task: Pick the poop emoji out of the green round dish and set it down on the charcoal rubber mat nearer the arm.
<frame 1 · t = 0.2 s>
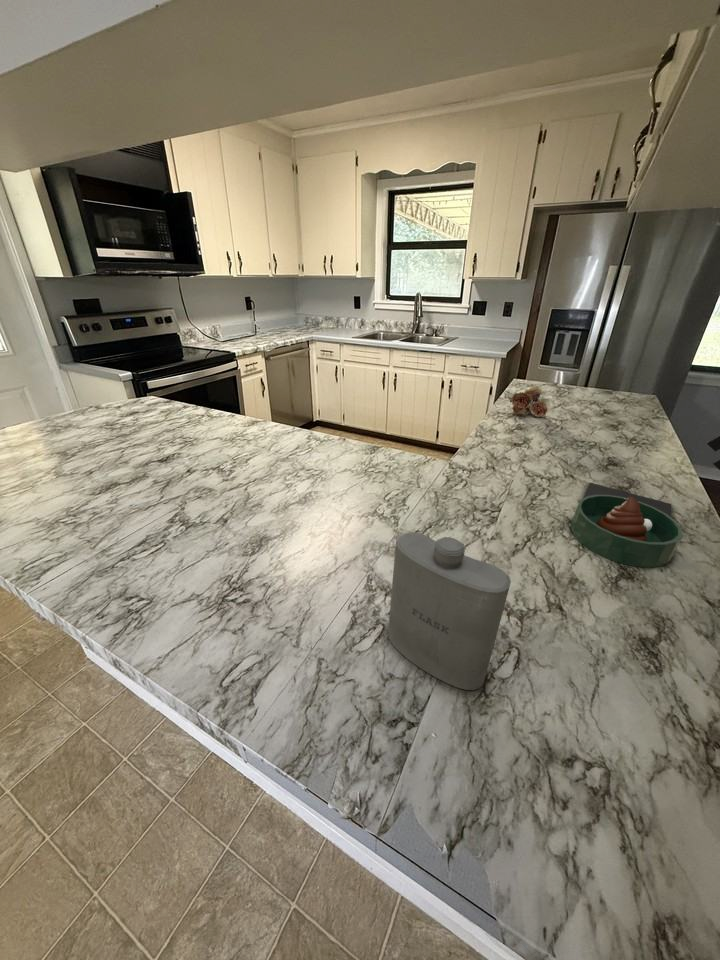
hand: (713, 456, 91), 13 cm above the counter, tool tilted 35°, fingers open, 13 cm apart
mat: (625, 503, 97), on the counter
green round dish: (618, 538, 84), on the counter
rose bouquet: (526, 415, 157), on the counter
flask: (432, 657, 57), on the counter
poop emoji: (619, 538, 83), resting in green round dish
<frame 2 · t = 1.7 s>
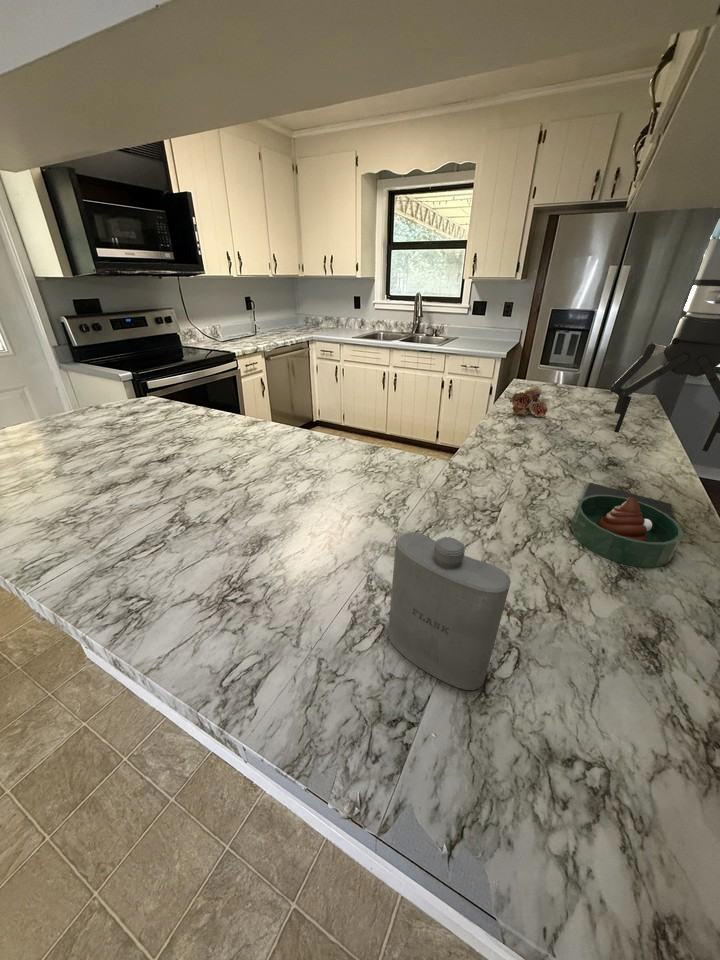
hand: (658, 439, 73), 22 cm above the counter, tool pointing down, fingers open, 13 cm apart
nothing on the counter moved.
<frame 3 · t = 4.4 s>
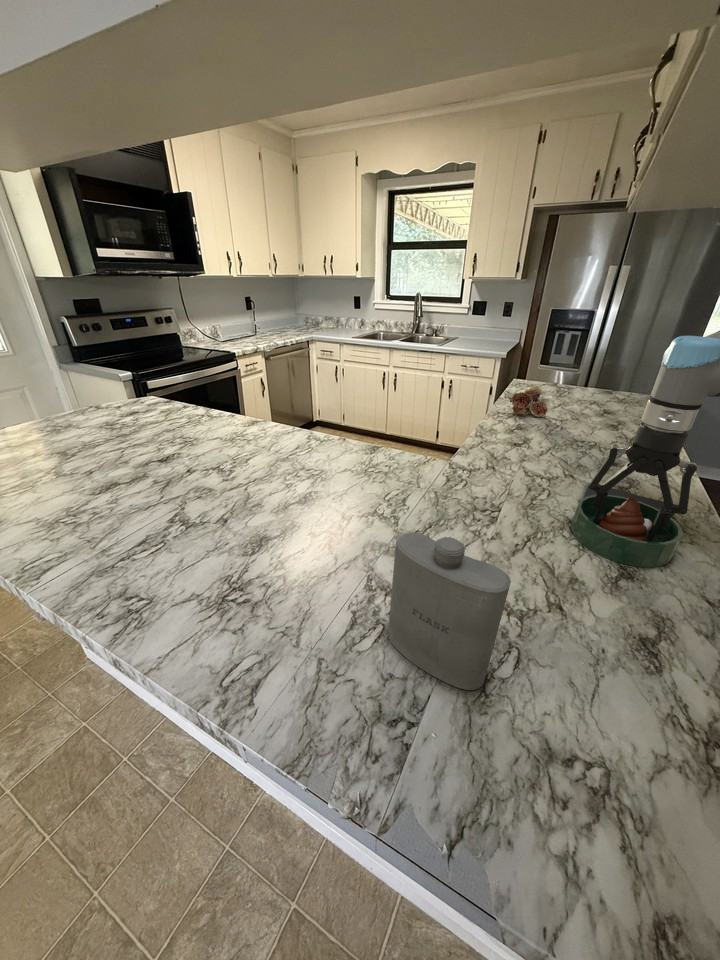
hand: (622, 528, 82), 3 cm above the counter, tool pointing down, fingers closed on poop emoji, 9 cm apart
poop emoji: (619, 538, 83), resting in green round dish, touching gripper
everything else where it was.
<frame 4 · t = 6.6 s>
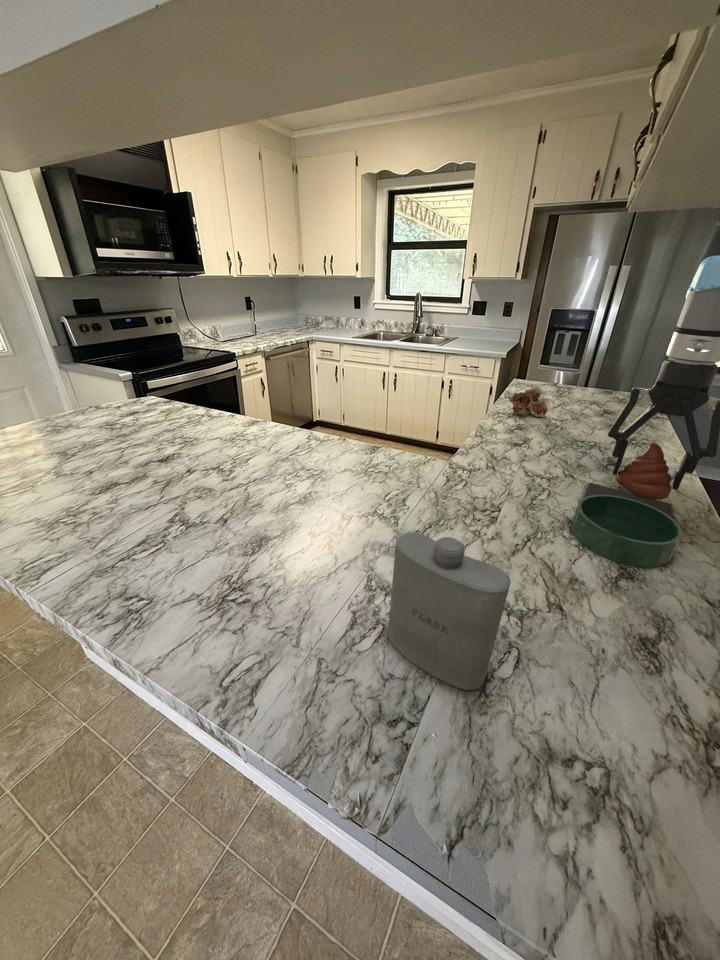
hand: (644, 479, 77), 14 cm above the counter, tool pointing down, fingers closed on poop emoji, 9 cm apart
poop emoji: (640, 489, 78), point 12 cm above the counter, touching gripper
everything else where it was.
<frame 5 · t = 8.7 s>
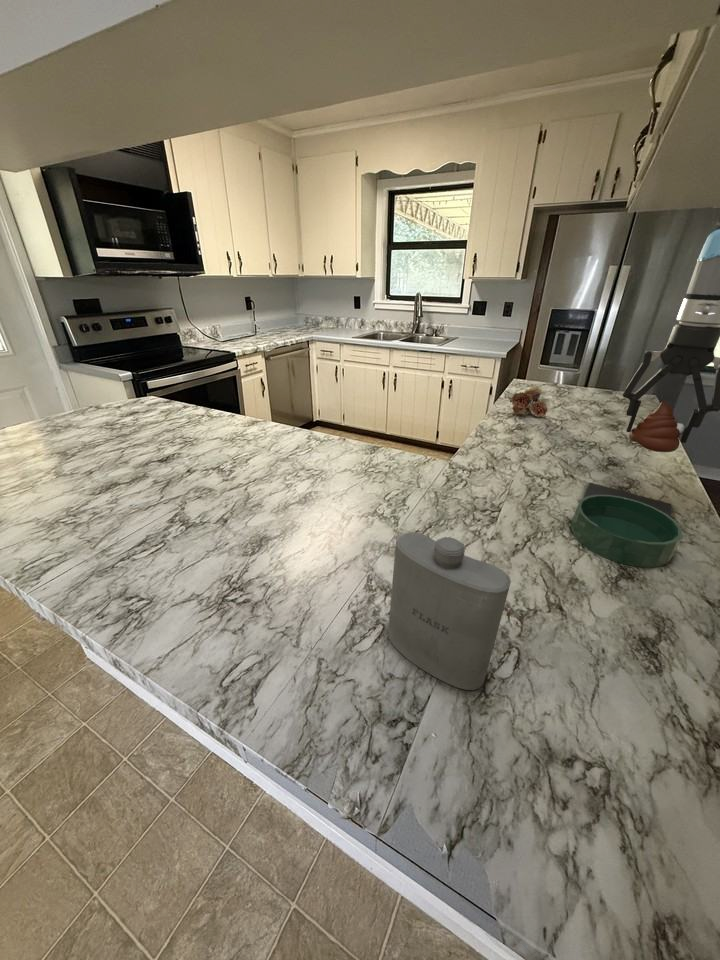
hand: (655, 435, 85), 19 cm above the counter, tool pointing down, fingers closed on poop emoji, 9 cm apart
poop emoji: (651, 445, 86), point 17 cm above the counter, touching gripper
everything else where it was.
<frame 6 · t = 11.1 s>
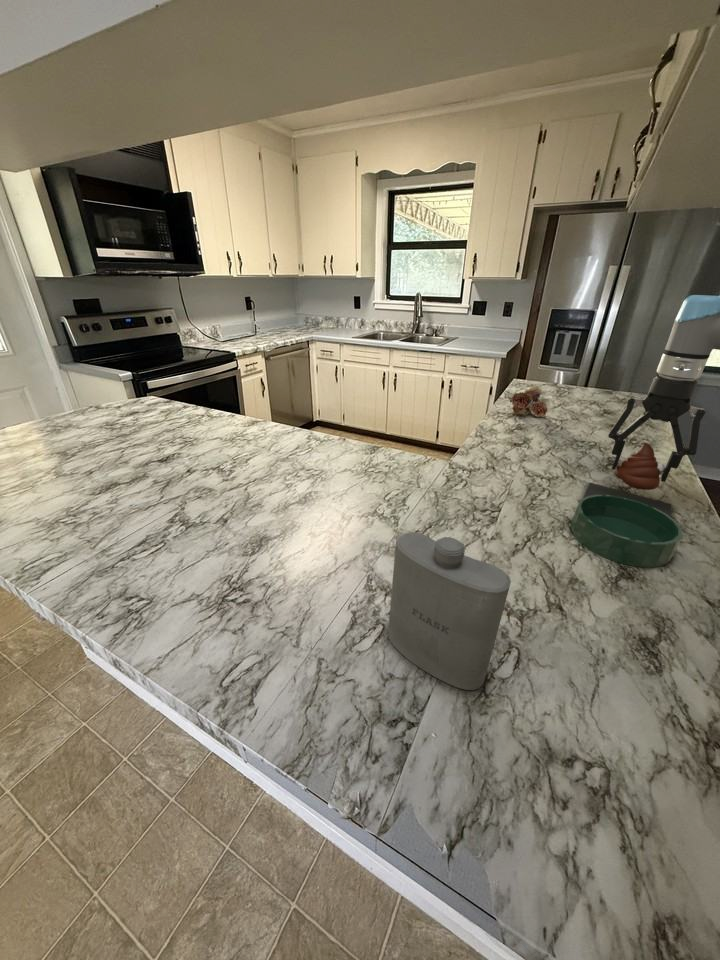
hand: (637, 473, 93), 8 cm above the counter, tool pointing down, fingers closed on poop emoji, 9 cm apart
poop emoji: (634, 482, 94), point 6 cm above the counter, touching gripper
everything else where it was.
when the fingers open (3 cm above the counter, at t = 13.0 s): poop emoji stays where it is, resting on mat.
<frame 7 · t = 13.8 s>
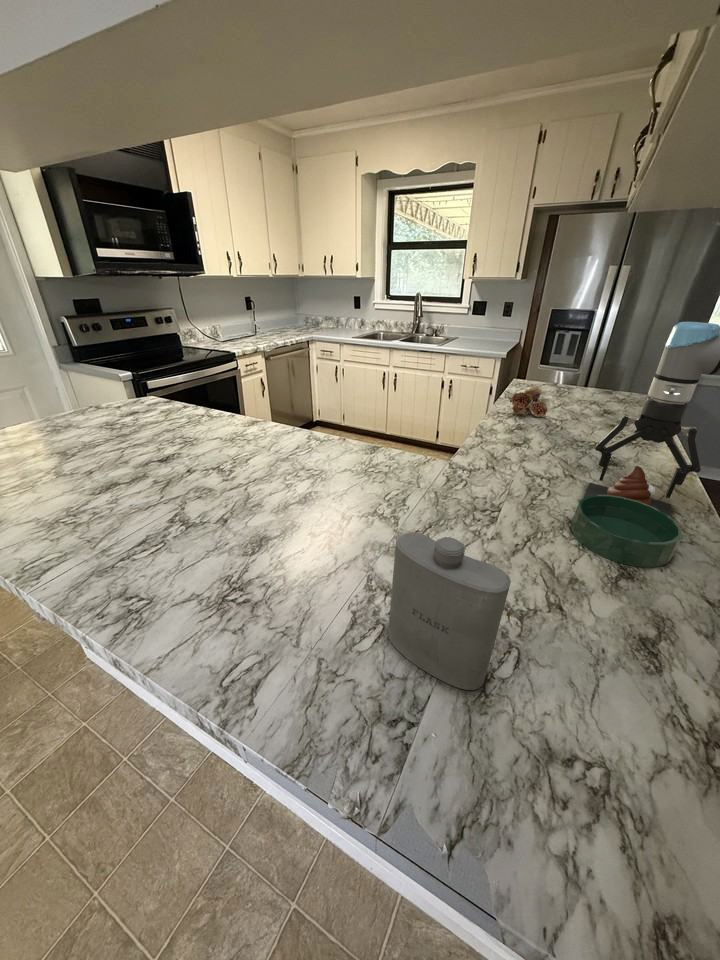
hand: (633, 487, 94), 5 cm above the counter, tool pointing down, fingers open, 13 cm apart
poop emoji: (626, 502, 96), resting on mat
everything else where it was.
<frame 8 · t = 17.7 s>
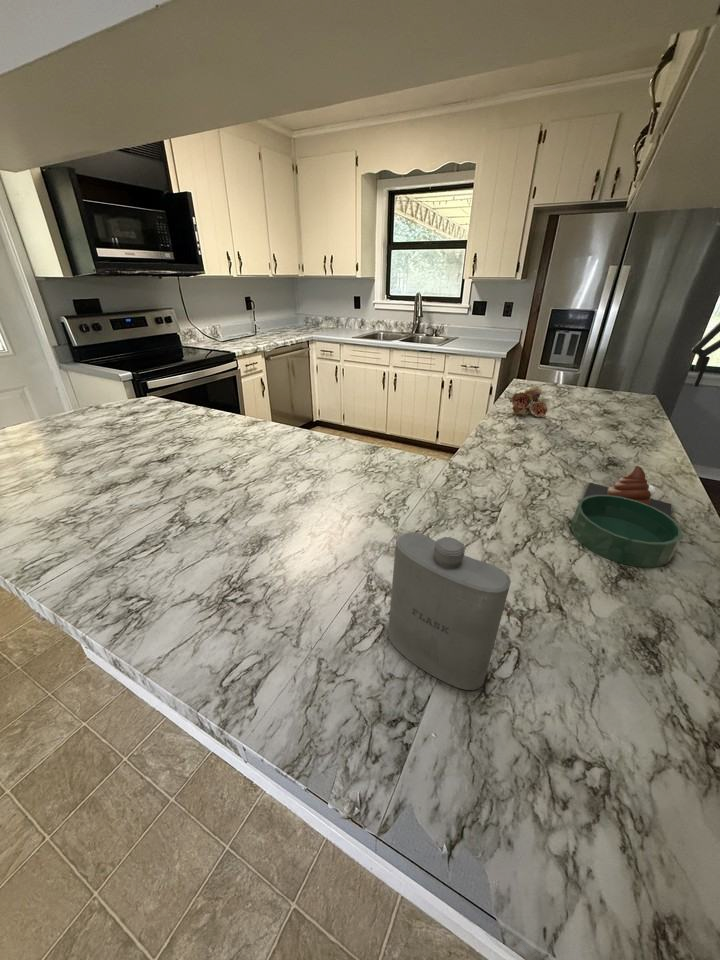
nothing on the counter moved.
at the end: poop emoji inside the target area on the mat (0.1 cm from its centre), point 0.3 cm above the mat's base; poop emoji tilted 0°; the gripper is holding nothing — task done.
